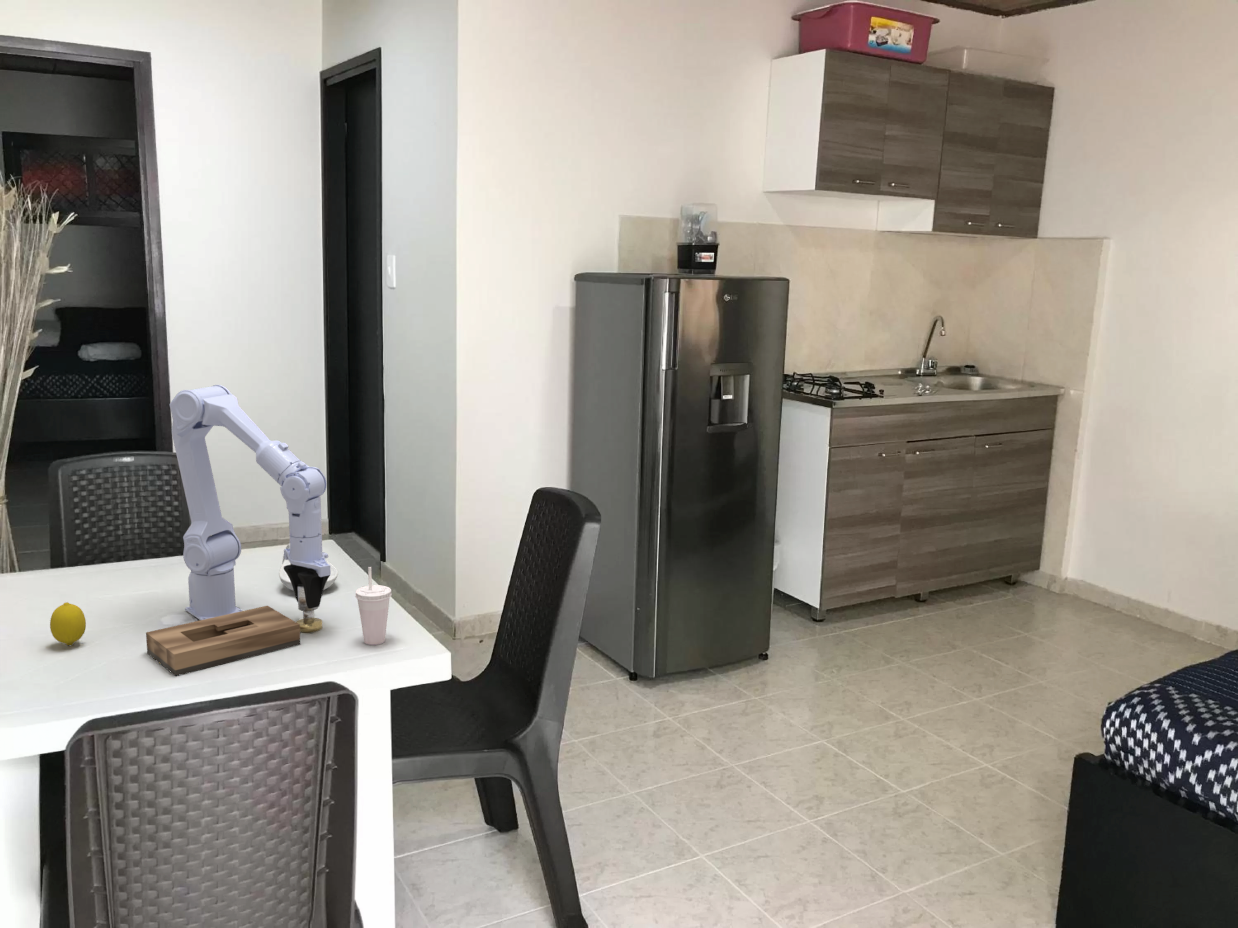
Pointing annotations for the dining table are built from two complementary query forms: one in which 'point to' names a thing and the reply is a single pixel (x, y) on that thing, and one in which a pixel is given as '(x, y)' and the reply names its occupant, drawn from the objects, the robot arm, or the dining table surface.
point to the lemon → (67, 623)
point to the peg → (307, 614)
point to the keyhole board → (222, 639)
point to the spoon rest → (287, 582)
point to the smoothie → (373, 611)
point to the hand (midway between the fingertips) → (308, 604)
